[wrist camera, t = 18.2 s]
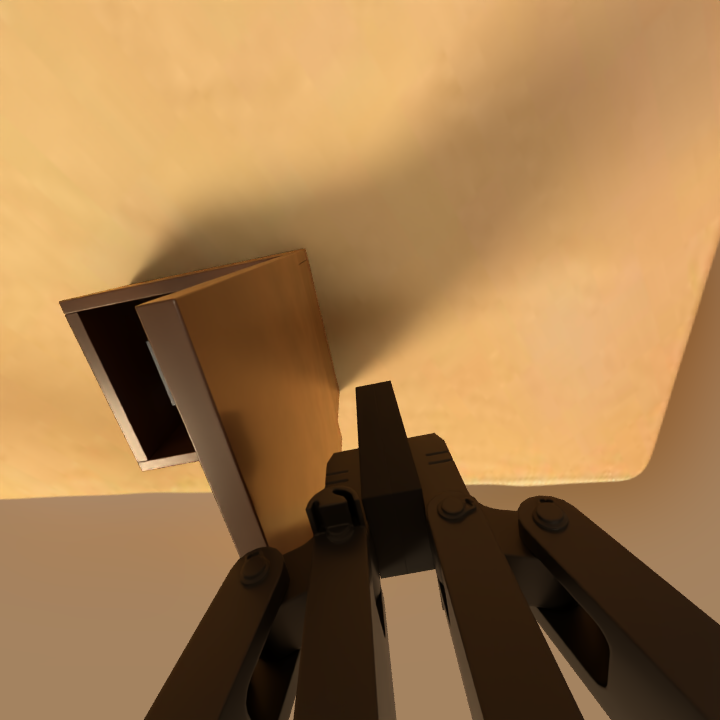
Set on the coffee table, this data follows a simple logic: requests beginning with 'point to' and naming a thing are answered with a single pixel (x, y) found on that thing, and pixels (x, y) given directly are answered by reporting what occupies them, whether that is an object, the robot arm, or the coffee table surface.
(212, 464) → the lid
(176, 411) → the chest
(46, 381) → the coffee table surface
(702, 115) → the coffee table surface
